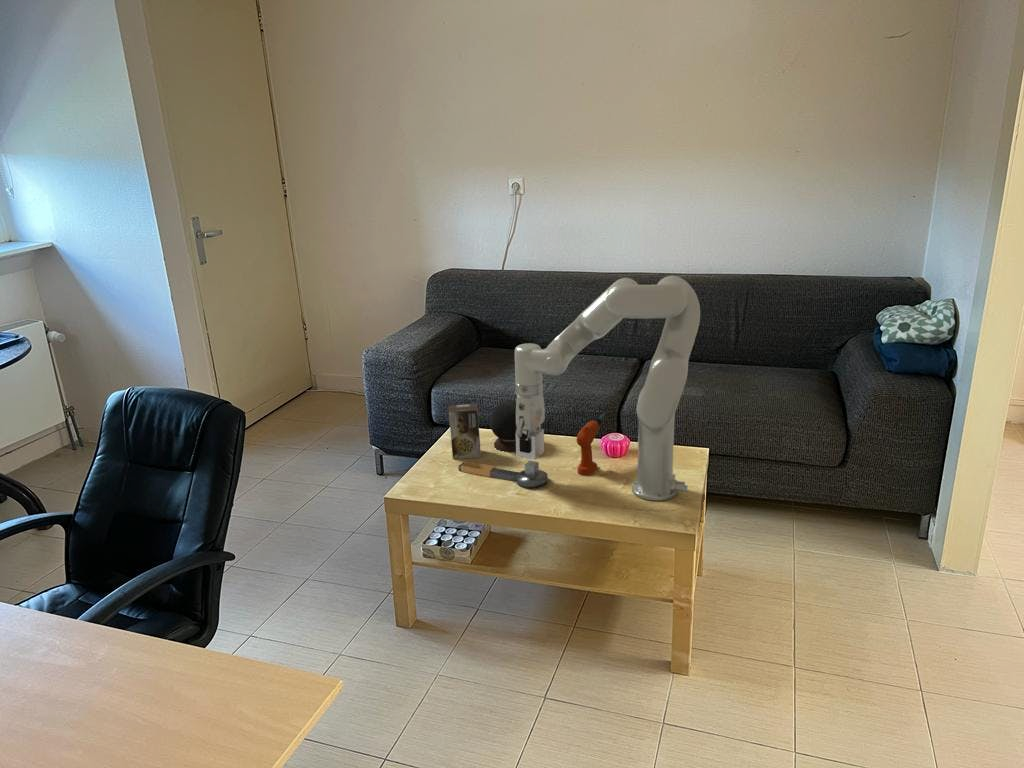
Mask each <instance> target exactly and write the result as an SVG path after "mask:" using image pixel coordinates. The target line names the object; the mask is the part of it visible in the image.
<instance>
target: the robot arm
mask: <svg viewBox="0 0 1024 768" xmlns="http://www.w3.org/2000/svg"><path fill="white" fill-rule="evenodd" d="M700 305H701V304H700V301H699V299H698V295H697V294H696V291H695V290H694V289H693V287H692V285H690V284H689V282H687V281H686V280H685V279H684V278H682V277H680V276H677V275H668V276H665V277H662V278H661V279H660V280H659V281H658V282H657V284H639V283H638V282H637V281H636V280H635V279H632V278H630V277H623V278H620V279H617V280H615V282H613V283H612V284H611V285H610V286H609V287H607V288H606V289H605V290H604V291H603V292H602V293H601V294H600V295H599V296H598V297H597V298H596V299H594V301H593V302H592V303H590V305H588V307H586V308H585V309H584V310H583V311H582V312H581V313H580V314H579V315H578V316H577V317H576V318H575V320H573V322H571V323H570V324H569V325H568V326H567V327H566V328H565V329H564V330H563V331H561V332H560V334H558V335H557V336H556V337H555V338H554V339H553V340H552V341H551V342H550V343H549V344H548V345H547V347H545V348H543V349H542V347H541V346H540V345H539V344H536V343H530V342H529V343H522V344H519V345H517V346H516V347H515V348H514V376H515V377H514V379H515V382H514V383H515V394H516V401H515V402H516V427H517V429H516V434H517V435H518V437H519V446H520V452H524V453H530V452H531V447H530V440H529V435H530V431H533V430H534V429H536V428H540V429H542V426H541V425H542V424H543V423H544V422H545V420H546V410H545V400H544V399H545V398H544V393H543V388H544V387H543V375H547V376H559V375H562V374H564V372H565V371H566V370H567V368H568V366H569V364H570V363H571V361H572V360H573V359H574V358H575V356H577V355H578V354H579V353H580V352H581V351H582V350H583V349H584V348H586V347H587V346H588V345H590V343H592V342H593V341H595V340H598V339H601V338H603V337H605V335H607V334H608V333H609V332H610V331H611V330H612V329H613V328H615V327H616V326H617V325H618V324H619V323H621V322H622V320H623V319H665V323H664V324H663V325H664V326H663V328H662V332H661V335H660V339H659V341H658V344H657V347H656V350H655V353H654V354H653V356H652V358H651V361H650V365H649V370H648V372H647V376H646V379H645V382H644V386H643V387H642V389H641V390H640V392H639V395H638V399H637V405H636V416H637V419H638V431H637V432H638V433H637V434H638V437H637V444H638V445H637V480H635V481H633V483H632V484H631V491H632V493H633V494H634V495H635V496H636V497H638V498H640V499H641V498H642V499H644V500H647V501H666V500H670V499H672V498H674V497H676V496H677V494H678V492H681V493H682V492H683V493H687V492H688V485H687V484H686V481H681V480H680V481H679V480H678V479H676V474H673V473H674V472H673V471H674V469H673V468H674V467H673V464H674V441H675V418H676V417H675V416H676V411H677V409H678V406H679V403H680V400H681V397H682V395H683V391H684V389H685V386H686V382H687V379H688V373H689V360H690V356H691V353H692V350H693V347H694V344H695V340H696V336H697V334H698V330H699V327H700V321H701V306H700ZM523 426H524V427H526V429H524V428H523ZM523 431H527V432H526V435H525V433H523Z"/></svg>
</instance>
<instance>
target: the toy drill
mask: <svg viewBox="0 0 1024 768" xmlns="http://www.w3.org/2000/svg"><path fill="white" fill-rule="evenodd" d="M606 415H607V413H606V412H603V413H601V415H600V416H599V417H596V418H594V419H593V420H590V421H588V422H587V423H586V424H585V425H584V426H583V427H582V428H581V429H580V430H579V432H578V434H577V435H576V443H577V445H578V446H580V453H581V455H580V462H579V464H578V467H577V474H578V475H581V476H589V475H592V474H593V473H595V472H596V471H597V469H598V464H597V462H594V461H593V449H592V446H593V445H592V444H593V442H594V439H595V438H596V435H597V434H598V432H599V429H600V427H601V425H602V420H603V419H604V417H606Z"/></svg>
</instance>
